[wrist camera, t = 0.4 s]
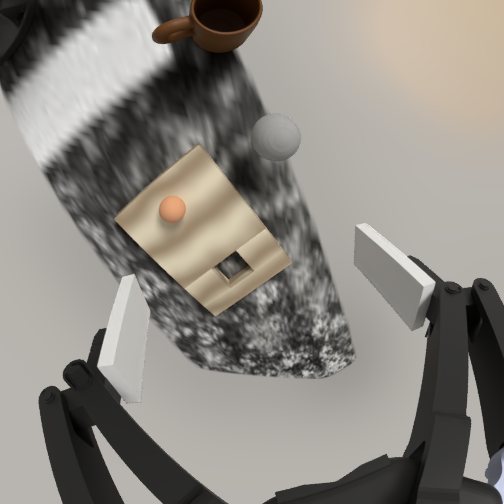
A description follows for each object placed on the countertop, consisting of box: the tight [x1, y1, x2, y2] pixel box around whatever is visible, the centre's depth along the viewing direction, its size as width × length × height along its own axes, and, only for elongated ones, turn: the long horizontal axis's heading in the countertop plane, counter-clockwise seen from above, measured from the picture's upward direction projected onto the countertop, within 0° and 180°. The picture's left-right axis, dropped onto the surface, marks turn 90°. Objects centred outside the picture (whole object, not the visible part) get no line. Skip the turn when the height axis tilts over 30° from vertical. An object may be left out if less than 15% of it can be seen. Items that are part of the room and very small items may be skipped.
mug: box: [152, 0, 263, 53], centre depth 25 cm, size 12×8×9 cm, turn 110°
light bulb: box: [251, 114, 301, 161], centre depth 32 cm, size 5×6×10 cm
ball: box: [159, 196, 186, 223], centre depth 35 cm, size 3×3×3 cm
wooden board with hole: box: [114, 143, 292, 316], centre depth 41 cm, size 22×15×2 cm
